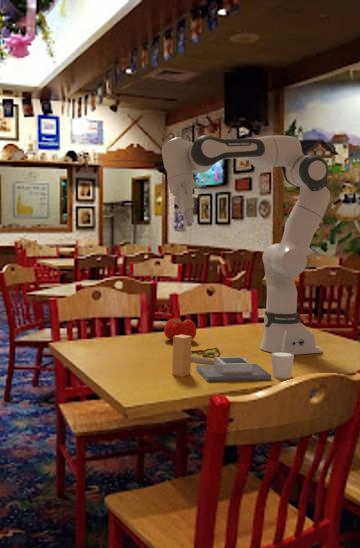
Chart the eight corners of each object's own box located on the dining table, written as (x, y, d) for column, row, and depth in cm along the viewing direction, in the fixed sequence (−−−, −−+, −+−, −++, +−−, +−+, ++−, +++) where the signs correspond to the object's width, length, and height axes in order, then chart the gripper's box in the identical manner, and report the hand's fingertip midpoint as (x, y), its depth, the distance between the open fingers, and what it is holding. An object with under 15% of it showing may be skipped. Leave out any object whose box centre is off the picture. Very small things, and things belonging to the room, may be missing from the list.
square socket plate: (256, 368, 209) (256, 354, 208) (271, 379, 195) (271, 365, 195) (196, 369, 205) (196, 355, 204) (207, 381, 191) (207, 366, 191)
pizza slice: (172, 360, 219) (172, 352, 218) (200, 350, 237) (200, 342, 236) (213, 367, 211) (213, 358, 211) (239, 355, 229) (239, 347, 229)
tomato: (156, 341, 247) (157, 319, 246) (175, 336, 257) (175, 315, 256) (184, 346, 240) (185, 323, 239) (202, 340, 250) (202, 319, 249)
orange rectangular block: (179, 372, 201) (181, 334, 200) (190, 374, 199) (191, 336, 198) (172, 374, 198) (173, 336, 197) (182, 376, 196) (184, 338, 194)
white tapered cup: (268, 373, 203) (269, 351, 203) (289, 373, 204) (290, 351, 203) (273, 378, 197) (274, 356, 196) (295, 379, 197) (296, 356, 196)
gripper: (192, 177, 210) (202, 218, 210) (189, 188, 231) (197, 225, 230) (173, 181, 210) (183, 222, 210) (172, 192, 230) (180, 229, 230)
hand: (191, 224), depth 220 cm, fingers open, 8 cm apart
